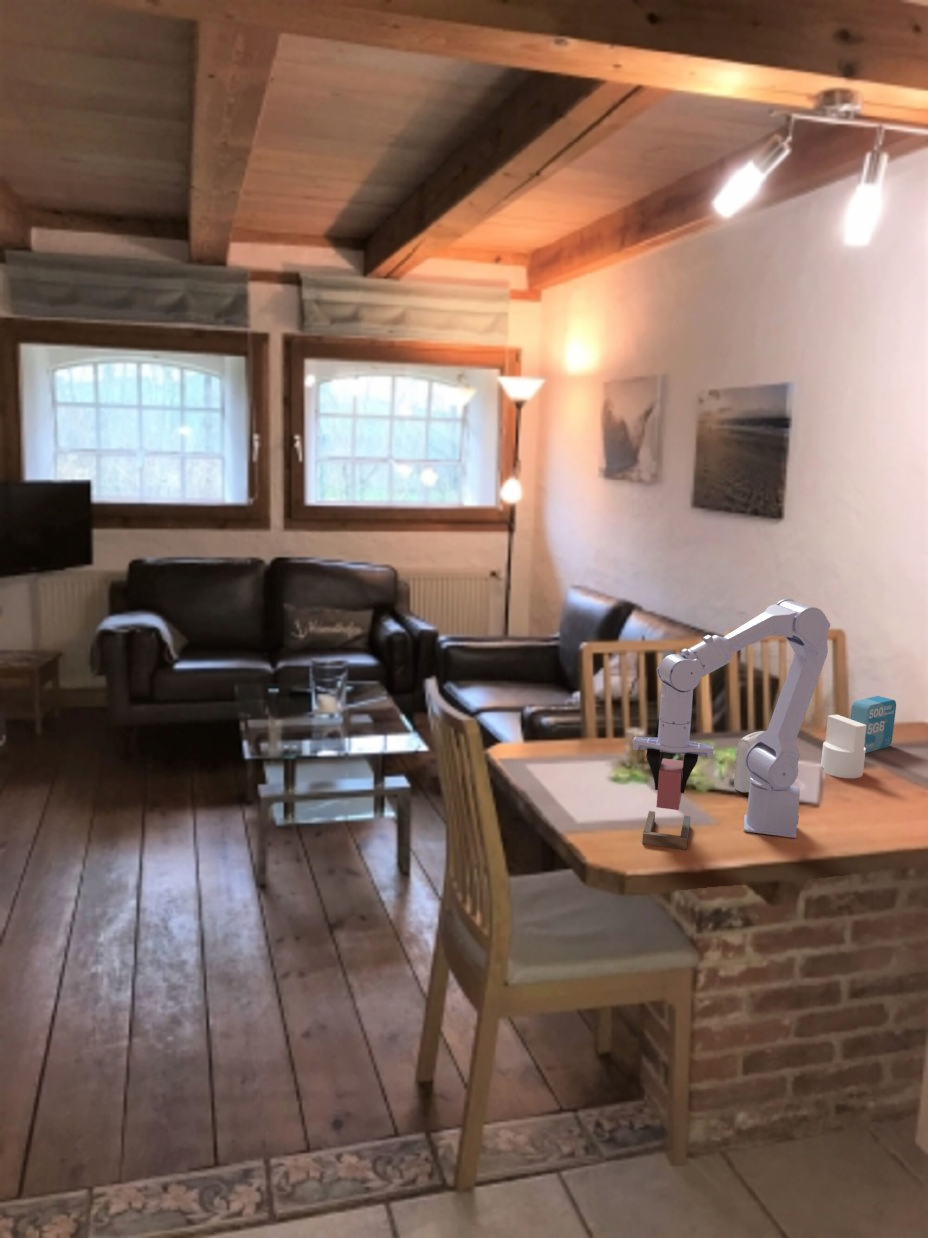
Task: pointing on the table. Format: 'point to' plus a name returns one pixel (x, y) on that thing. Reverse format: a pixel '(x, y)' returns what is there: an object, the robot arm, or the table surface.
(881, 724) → the data package
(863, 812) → the table surface
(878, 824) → the table surface
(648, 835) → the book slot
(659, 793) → the dull red block
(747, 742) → the photo printer
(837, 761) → the cylinder with rectangular tab
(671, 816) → the table surface
